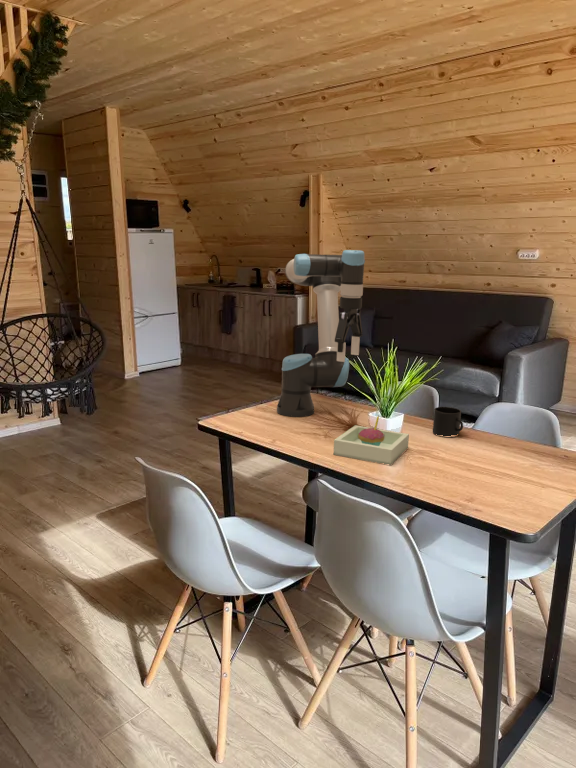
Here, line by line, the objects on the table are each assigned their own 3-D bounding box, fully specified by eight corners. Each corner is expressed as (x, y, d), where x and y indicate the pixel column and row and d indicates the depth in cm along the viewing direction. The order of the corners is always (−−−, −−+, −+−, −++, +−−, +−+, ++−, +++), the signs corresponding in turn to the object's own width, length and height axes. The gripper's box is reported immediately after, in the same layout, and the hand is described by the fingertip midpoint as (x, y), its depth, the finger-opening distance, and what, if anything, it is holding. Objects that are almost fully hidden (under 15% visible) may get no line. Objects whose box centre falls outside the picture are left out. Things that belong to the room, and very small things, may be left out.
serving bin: (354, 438, 213) (355, 425, 212) (408, 448, 204) (409, 434, 203) (333, 454, 196) (334, 439, 195) (390, 465, 188) (391, 450, 187)
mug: (452, 441, 213) (455, 416, 211) (427, 432, 223) (428, 408, 221) (470, 437, 218) (472, 413, 216) (444, 428, 228) (446, 405, 226)
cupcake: (382, 445, 204) (384, 411, 201) (384, 454, 195) (387, 418, 193) (356, 444, 204) (358, 410, 201) (357, 453, 196) (359, 417, 193)
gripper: (353, 293, 218) (350, 351, 223) (326, 298, 196) (323, 362, 201) (373, 294, 215) (370, 353, 220) (348, 300, 193) (344, 365, 198)
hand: (347, 358), depth 211 cm, fingers open, 13 cm apart
